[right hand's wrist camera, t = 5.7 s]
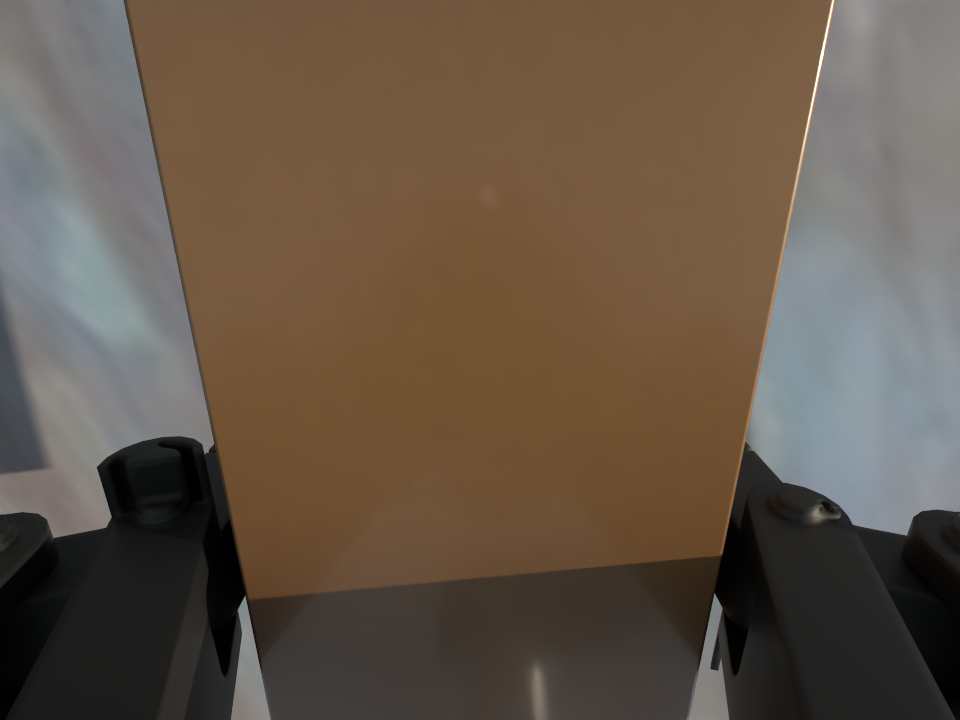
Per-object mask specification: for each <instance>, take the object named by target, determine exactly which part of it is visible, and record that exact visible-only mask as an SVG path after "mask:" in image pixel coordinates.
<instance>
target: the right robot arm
mask: <svg viewBox="0 0 960 720" xmlns="http://www.w3.org/2000/svg"><path fill="white" fill-rule="evenodd" d="M97 469H98V472H99V476H100V479H101V482H102V486H103V489H104V492H105V496H106V499H107V502H108V506H109V509H110V512H111V516H112V518H111V520H110V522H109V524H108V526H107V527H106V528H103V529H99V530H93V531H88V532H83V533H78V534H73V535H68V536H62V537H57V538H53V536H52V533H51V530H50V527H49V524H48V522H47V519H45V518H44V517H42V516H41V515H39V514H35V513H25V512H21V513H13V514H6V515H4V514H3V515H0V720H231V713H232V706H233V698H234V690H235V683H236V675H237V667H238V660H239V652H240V645H241V637H242V630H241V624H240V619H239V614H238V608H239V606H240V604H241V602H242V601H243V599H244V597H245V590H244V586H243V581H242V576H241V571H240V566H239V561H238V556H237V551H236V546H235V542H234V537H233V532H232V527H231V522H230V517H229V512H228V507H227V502H226V498H225V493H224V488H223V483H222V478H221V473H220V468H219V463H218V459H217V454H216V449H215V444H214V445H213V446H212V447H211V448H210V449H209V453H206V454H205V455H204V451H203V446H202V444H201V443H199V442H198V441H196V440H195V439H192V438H186V437H181V436H178V437H161V438H156V439H151V440H146V441H142V442H139V443H136V444H134V445H131V446H128V447H125V448H123V449H121V450H119V451H117V452H116V453H114V454H112V455H110V456H109V457H107V458H106V459H105V460H104V461H103V462H102V463H101V464H100V465H99V466H98V467H97ZM714 593H715V595H716V596H717V598H718V600H719V602H720V604H721V606H722V608H723V609H722V614H721V619H720V623H719V628H718V633H717V637H716V642H715V646H714V651H713V656H712V662H711V669H713V670H717V671H718V669H719V664H720V660H721V658H722V666H723V674H724V681H725V689H726V697H727V704H728V712H729V720H960V512H952V511H944V510H930V511H922V512H920V513H919V514H917V515H916V516H914V517H913V520H912V523H911V526H910V529H909V531H908V534H907V536H906V535H900V534H895V533H890V532H885V531H879V530H874V529H869V528H864V527H859V526H855V525H852V523H851V521H850V519H849V517H848V516H847V514H846V513H845V512H844V511H843V510H842V509H841V507H840V506H839V505H837V504H836V503H834V502H833V501H831V500H830V499H828V498H827V497H825V496H824V495H822V494H819V493H817V492H815V491H812V490H810V489H807V488H805V487H801V486H796V485H792V484H788V483H782V481H781V480H780V479H779V478H778V477H777V476H776V475H775V474H774V473H773V472H772V470H771V469H770V468H769V467H768V466H767V465H766V464H765V463H764V462H763V461H762V460H761V458H760V457H759V456H758V455H757V454H756V453H755V452H754V451H751V447H750V446H749V445H748V444H747V443H746V442H745V445H744V450H743V455H742V460H741V465H740V470H739V475H738V480H737V485H736V489H735V494H734V499H733V504H732V509H731V514H730V519H729V524H728V529H727V534H726V538H725V543H724V548H723V553H722V558H721V563H720V568H719V573H718V578H717V583H716V587H715V592H714Z"/></svg>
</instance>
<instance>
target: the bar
mask: <svg viewBox="0 0 960 720" xmlns="http://www.w3.org/2000/svg"><path fill="white" fill-rule="evenodd" d="M124 4H125V9H126V14H127V19H128V24H129V29H130V34H131V39H132V43H133V48H134V53H135V58H136V63H137V68H138V73H139V78H140V82H141V87H142V92H143V97H144V102H145V107H146V112H147V117H148V122H149V126H150V131H151V136H152V141H153V146H154V151H155V156H156V161H157V165H158V170H159V175H160V180H161V185H162V190H163V195H164V200H165V205H166V209H167V214H168V219H169V224H170V229H171V234H172V239H173V244H174V249H175V253H176V258H177V263H178V268H179V273H180V278H181V283H182V288H183V292H184V297H185V302H186V307H187V312H188V317H189V322H190V327H191V332H192V336H193V341H194V346H195V351H196V356H197V361H198V366H199V371H200V375H201V380H202V385H203V390H204V395H205V400H206V405H207V410H208V415H209V419H210V424H211V429H212V434H213V439H214V444H215V449H216V454H217V459H218V463H219V468H220V473H221V478H222V483H223V488H224V493H225V498H226V502H227V507H228V512H229V517H230V522H231V527H232V532H233V537H234V542H235V546H236V551H237V556H238V561H239V566H240V571H241V576H242V581H243V586H244V590H245V595H246V600H247V605H248V610H249V615H250V620H251V625H252V629H253V634H254V639H255V644H256V649H257V654H258V659H259V664H260V669H261V673H262V678H263V683H264V688H265V693H266V698H267V703H268V708H269V712H270V717H271V720H689V715H690V710H691V705H692V700H693V695H694V690H695V685H696V680H697V676H698V671H699V666H700V661H701V656H702V651H703V646H704V641H705V636H706V631H707V627H708V622H709V617H710V612H711V607H712V602H713V597H714V592H715V587H716V583H717V578H718V573H719V568H720V563H721V558H722V553H723V548H724V543H725V538H726V534H727V529H728V524H729V519H730V514H731V509H732V504H733V499H734V494H735V489H736V485H737V480H738V475H739V470H740V465H741V460H742V455H743V450H744V445H745V441H746V436H747V431H748V426H749V421H750V416H751V411H752V406H753V401H754V396H755V392H756V387H757V382H758V377H759V372H760V367H761V362H762V357H763V352H764V347H765V343H766V338H767V333H768V328H769V323H770V318H771V313H772V308H773V303H774V298H775V294H776V289H777V284H778V279H779V274H780V269H781V264H782V259H783V254H784V250H785V245H786V240H787V235H788V230H789V225H790V220H791V215H792V210H793V205H794V201H795V196H796V191H797V186H798V181H799V176H800V171H801V166H802V161H803V156H804V152H805V147H806V142H807V137H808V132H809V127H810V122H811V117H812V112H813V107H814V103H815V98H816V93H817V88H818V83H819V78H820V73H821V68H822V63H823V59H824V54H825V49H826V44H827V39H828V34H829V29H830V24H831V19H832V14H833V10H834V5H835V0H124Z"/></svg>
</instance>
